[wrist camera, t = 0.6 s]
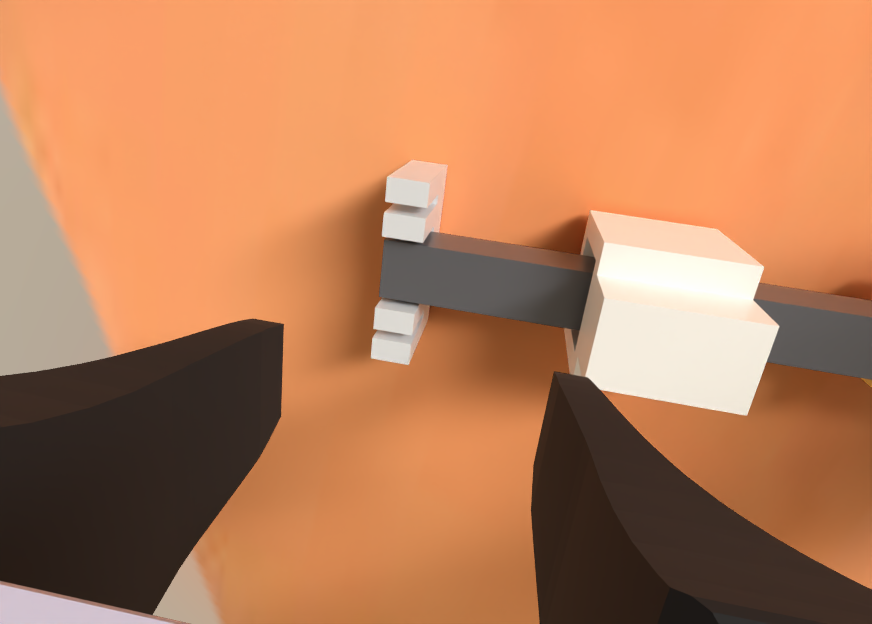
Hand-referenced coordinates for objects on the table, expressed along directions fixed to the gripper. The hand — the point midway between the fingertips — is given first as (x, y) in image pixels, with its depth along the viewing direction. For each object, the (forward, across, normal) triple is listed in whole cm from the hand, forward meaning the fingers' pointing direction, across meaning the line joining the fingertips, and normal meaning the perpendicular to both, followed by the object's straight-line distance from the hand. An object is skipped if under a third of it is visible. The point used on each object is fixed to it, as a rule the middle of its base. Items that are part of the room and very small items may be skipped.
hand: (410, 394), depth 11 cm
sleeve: (+10, -6, 0) cm, 12 cm away
